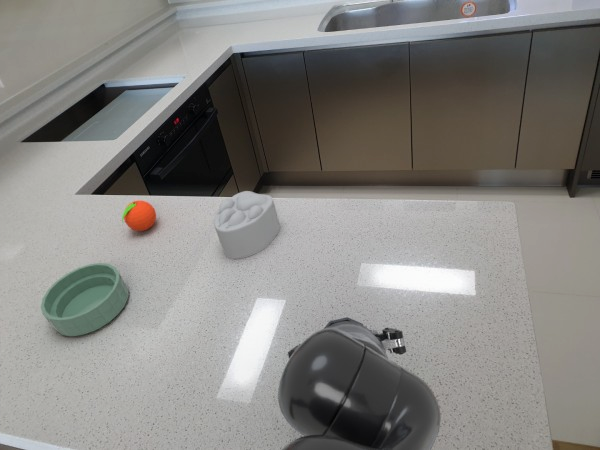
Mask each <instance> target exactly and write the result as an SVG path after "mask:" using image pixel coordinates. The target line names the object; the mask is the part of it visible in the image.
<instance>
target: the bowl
mask: <svg viewBox="0 0 600 450" xmlns="http://www.w3.org/2000/svg"><path fill="white" fill-rule="evenodd" d="M128 299H129V287H128V285H127V284H126V282H125V280H124V279H123V277H122V275H121V274H120V272H119V270H118V269H117V266H114V265H112V264H110V263H106V262H97V263H95V262H94V263H89V264H85V265H83V266H80V267H77V268H75V269H73V270H71V271H69V272H68V273H65V274H64V275H63V276H62V277H60V278H59V279H57V280H56V281H55V282H54V283H53V284H51V286H50V287H49V288H48V289H47V290H46V292H45V294H44V295H43V297H42V299H41V304H40V309H41V313H42V315H43V316H44V317H45V319H46V320H47V322H48V323H49V324H50V325H51V326H52V328H53V329H54V330H55V331H56V332H57V333H59V334H60V335H61V336H65V337H79V336H84V335H86V334H89V333H93V332H95V331H97V330H98V329H101V328H102V327H104V326H106V325H107V324H109V323H110V322H111V321H112V320H113V319H115V318H116V317H117V316H118V315H119V314H120V313H121V312H122V310H123V309H124V308H125V306H126V304H127V302H128Z"/></svg>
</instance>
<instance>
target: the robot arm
mask: <svg viewBox="0 0 600 450" xmlns="http://www.w3.org/2000/svg"><path fill="white" fill-rule="evenodd" d="M363 325H364V324H363ZM363 325H361V324H359V323H356V322H351V321H342V322H338V323H335V324H332V325H330V326H329V327H327V328H325V327H324V328H325V329H324V328H322V329H320V330H317V331H315V332H314V333H312V334H311V335H309V336H308V337H306V338H305V340H303V342H301V343H298V345H296V346H294V347H293V348H292V349H290V350H289V351H287V357H288V360H287V362H286V364H285V366H284V367H283V370H282V373H281V375H280V379H279V383H278V389H277V401H278V406H279V409H280V412H281V414H282V416H283V418H284V419H285V421H286V422H287V424H288V425H290V426H291V428H292V429H294V430H295V431H296V432H297V433H299V434H301V435H303V436H300V437H298V438H295V439H294V440H292V441H290V442H289V443H287V444H286V445H284V446H283V448H282V449H281V450H432V449H433V447H434V445H435V442H436V440H437V437H438V435H439V431H440V426H441V420H442V419H441V416H442V415H441V409H440V406H439V402H438V400H437V398H436V395H435V393H434V391H433V390H432V389H431V387H430V385H428V384H427V382H426V381H425V380H424V379H422V378H421V377H420V376H418V375H417V374H415V373H414V372H412V371H411V370H409V369H407V368H405V367H404V366H402V365H400V364H398V363H396V362H394V361H393V360H391V359H390V358H389V357H388V354H387V352H386V350H387V351H389V353H390V354H396V355H404V354H405V353H407V348H406V343H405V338H404V333H403V330H400V329H397V328H393V327H384V328H382V329H381V332H382V333H378V330H377V329H369V328H368V327H367V326H365V325H364V326H363Z"/></svg>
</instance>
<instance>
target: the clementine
mask: <svg viewBox="0 0 600 450" xmlns="http://www.w3.org/2000/svg"><path fill="white" fill-rule="evenodd" d="M156 220H157V213H156V209H155V207H154V206H153V205H152V204H151V203H149V202H147V201H145V200H133V201H132V202H130V203H129V204H128V205H126V207H125V209H124V211H123V214H122V218H121V221H122V222H125V225H127V227H128V228H129V229H131V230H133V231H136V232H144V231H148V230H149V229H151V228H152V227H153V226H154V224H155V223H156Z"/></svg>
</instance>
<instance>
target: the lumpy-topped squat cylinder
mask: <svg viewBox="0 0 600 450" xmlns="http://www.w3.org/2000/svg"><path fill="white" fill-rule="evenodd" d="M275 205H276V204H275V202H274V199H273V197H272V196H271V195H269V194H261V193H256V192H254V191H249V190H244V191H241V192H238V193H236V194H234V195H232V196H231V197H230V198H225V199H224V200H222V201H221V202H220V203H219V208H218V209H217V211H216V212H215V215H214V218H213V227H214V230H215V232H216V234H217V237H218V240H219V243H220V245H221V248H222V250H223V253H224V255H225V256H226V257H227V258H228V259H230V260H231V259H232V260H240V259H244V258H249V257H251V256H253V255H257V254H258V253H260V252H261V251H263V250H264V249H266V248H267V247H268V246H269V245H270V244H271V243H272V242H273V241H274V239H275V238H276V237H277V235H278V234H279V233H280V231H281V224H280V221H279V217H278V212H277V210H276V206H275Z"/></svg>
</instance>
